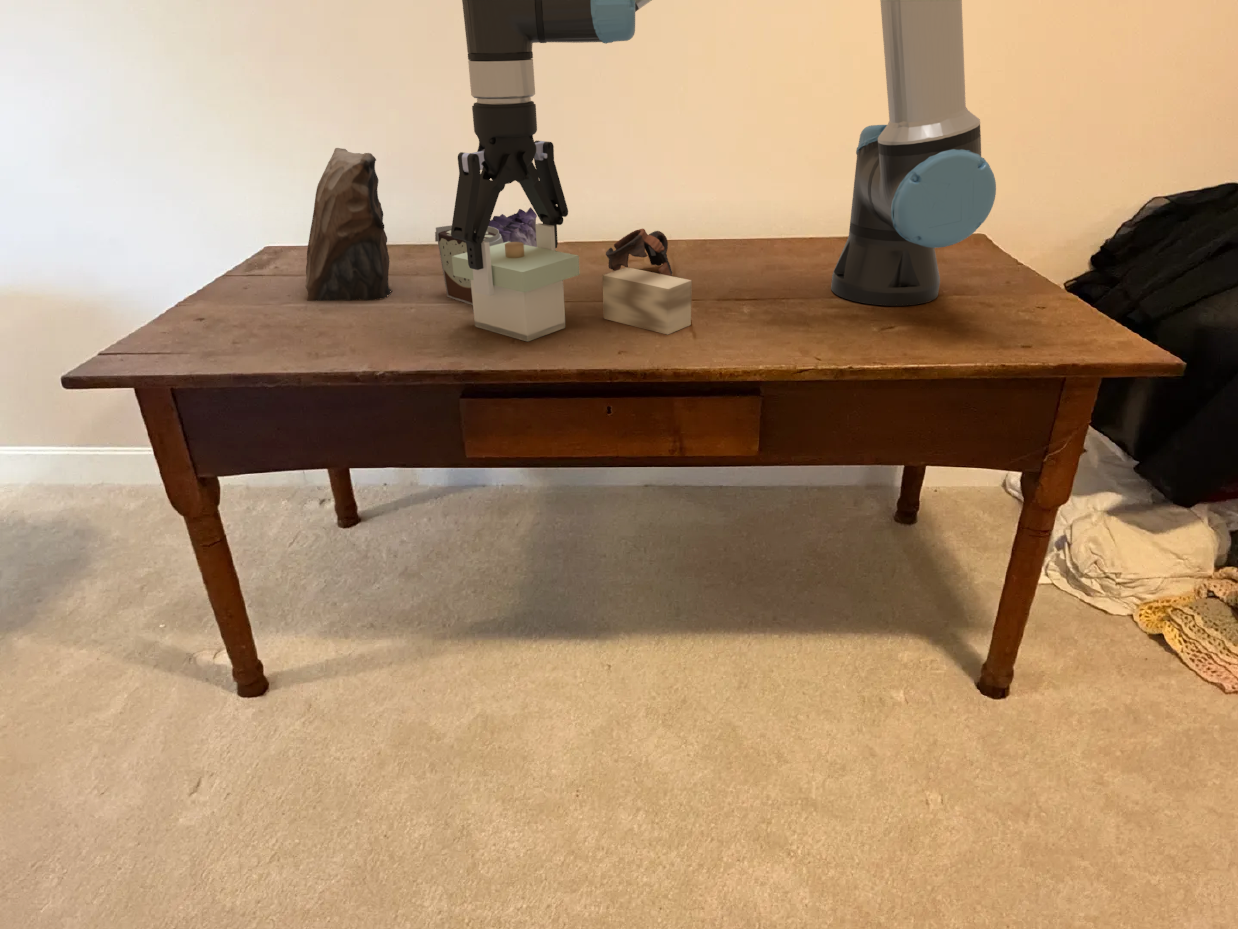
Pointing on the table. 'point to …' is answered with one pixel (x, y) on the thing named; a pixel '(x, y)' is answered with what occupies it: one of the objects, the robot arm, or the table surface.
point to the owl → (347, 233)
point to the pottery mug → (641, 250)
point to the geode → (517, 227)
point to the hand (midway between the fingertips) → (516, 283)
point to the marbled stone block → (647, 300)
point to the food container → (450, 247)
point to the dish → (521, 311)
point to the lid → (522, 266)
